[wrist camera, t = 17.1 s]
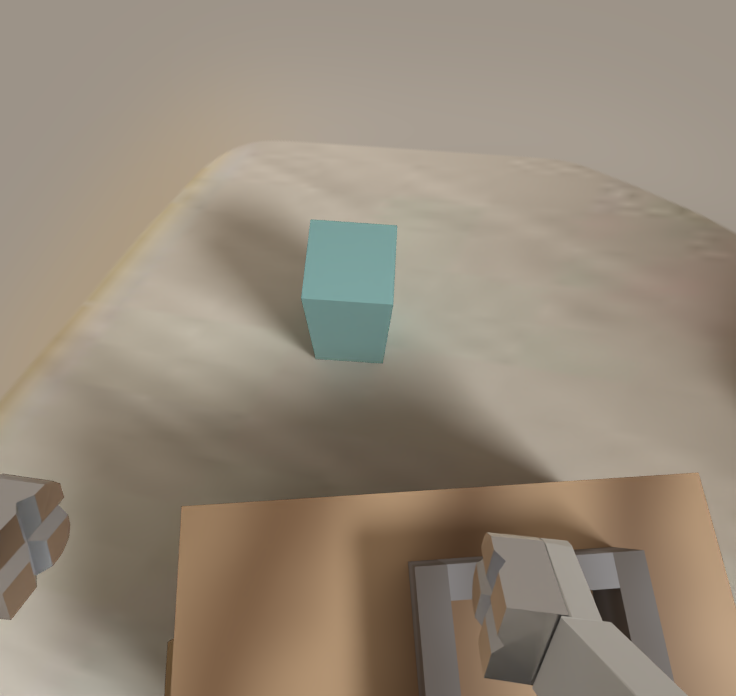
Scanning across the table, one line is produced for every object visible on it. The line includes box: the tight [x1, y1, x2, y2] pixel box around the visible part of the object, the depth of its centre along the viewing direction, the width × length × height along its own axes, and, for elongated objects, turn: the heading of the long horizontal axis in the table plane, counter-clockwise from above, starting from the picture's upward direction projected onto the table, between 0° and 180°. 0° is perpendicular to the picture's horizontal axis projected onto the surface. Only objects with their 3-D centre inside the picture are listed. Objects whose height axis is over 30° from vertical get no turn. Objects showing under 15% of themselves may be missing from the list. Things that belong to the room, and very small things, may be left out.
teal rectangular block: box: [301, 220, 397, 363], centre depth 26 cm, size 4×4×8 cm
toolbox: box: [164, 473, 736, 696], centre depth 19 cm, size 19×12×12 cm, turn 94°
